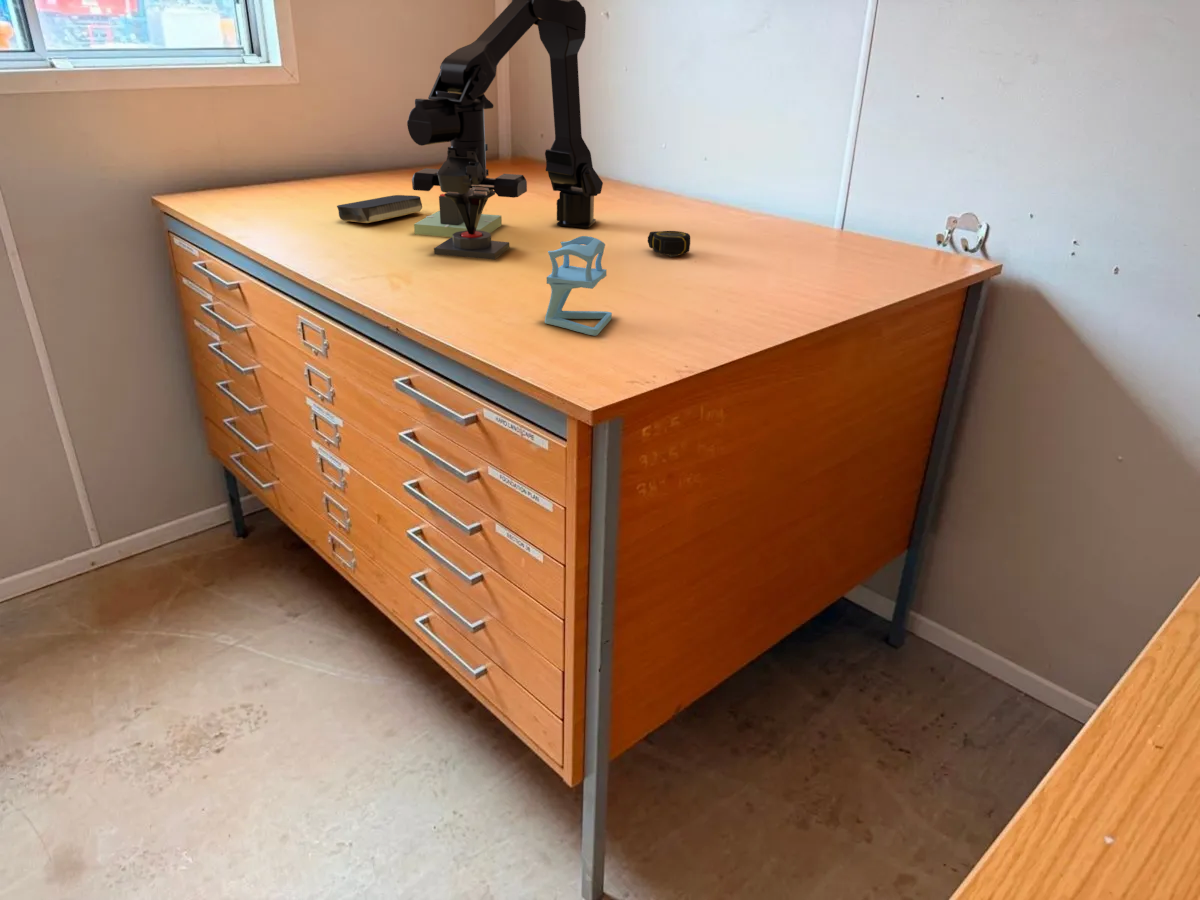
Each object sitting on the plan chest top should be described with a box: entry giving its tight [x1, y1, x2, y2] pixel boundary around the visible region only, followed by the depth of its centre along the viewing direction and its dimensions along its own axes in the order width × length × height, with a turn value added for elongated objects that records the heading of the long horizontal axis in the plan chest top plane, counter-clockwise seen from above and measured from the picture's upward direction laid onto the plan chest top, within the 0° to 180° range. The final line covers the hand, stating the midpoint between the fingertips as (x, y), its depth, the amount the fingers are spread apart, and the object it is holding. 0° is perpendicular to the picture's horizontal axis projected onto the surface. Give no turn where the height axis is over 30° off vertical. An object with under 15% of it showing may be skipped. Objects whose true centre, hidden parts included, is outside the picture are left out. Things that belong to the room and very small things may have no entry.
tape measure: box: [647, 230, 691, 257], centre depth 154 cm, size 7×7×4 cm
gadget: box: [438, 188, 473, 225], centre depth 164 cm, size 9×4×5 cm, turn 166°
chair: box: [544, 235, 613, 337], centre depth 118 cm, size 8×8×12 cm
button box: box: [433, 230, 511, 261], centre depth 152 cm, size 11×8×3 cm
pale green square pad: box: [413, 210, 503, 238], centre depth 166 cm, size 13×13×2 cm
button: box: [461, 231, 482, 238], centre depth 152 cm, size 4×4×2 cm
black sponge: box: [336, 194, 423, 224], centre depth 173 cm, size 16×8×4 cm, turn 143°
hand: (471, 233), depth 151 cm, fingers closed, pressing on button
